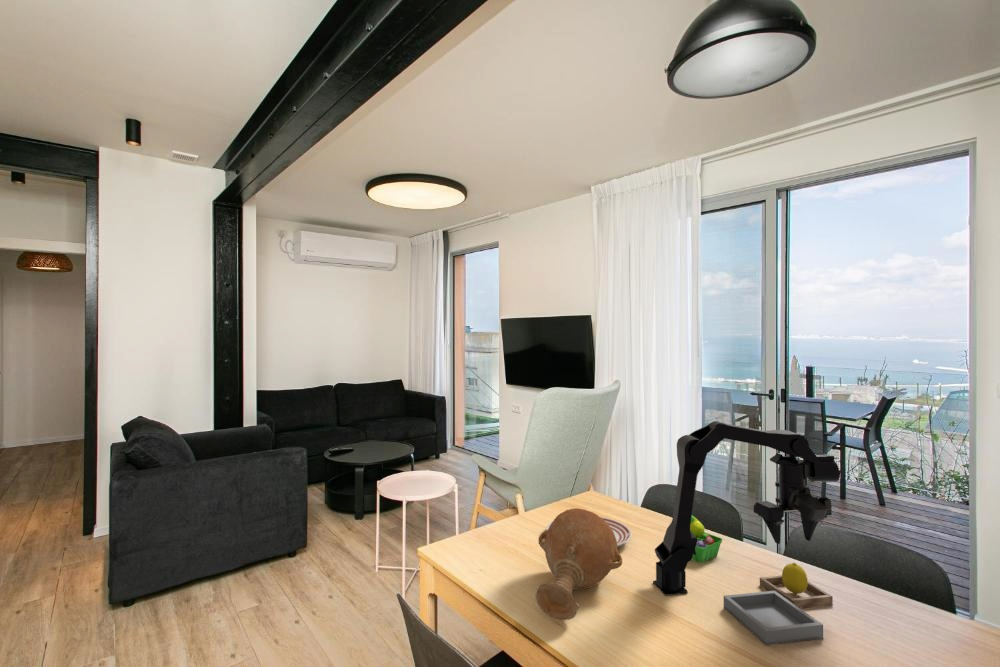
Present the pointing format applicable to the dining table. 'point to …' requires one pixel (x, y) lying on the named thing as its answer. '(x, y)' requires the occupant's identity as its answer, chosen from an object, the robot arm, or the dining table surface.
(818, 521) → the robot arm
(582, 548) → the jug
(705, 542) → the fruit basket
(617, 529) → the dinner plate
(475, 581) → the dining table surface
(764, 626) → the tray
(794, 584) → the lemon
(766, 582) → the lemon holder
